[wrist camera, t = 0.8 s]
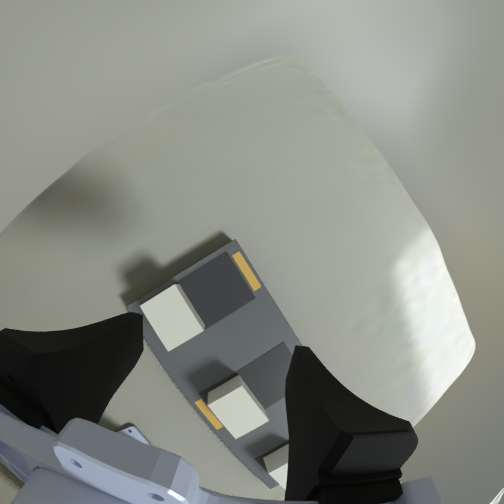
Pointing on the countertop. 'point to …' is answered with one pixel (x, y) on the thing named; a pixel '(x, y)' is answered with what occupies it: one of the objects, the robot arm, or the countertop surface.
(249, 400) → the tab middle
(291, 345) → the switch panel
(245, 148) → the countertop surface
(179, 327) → the tab
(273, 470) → the tab
